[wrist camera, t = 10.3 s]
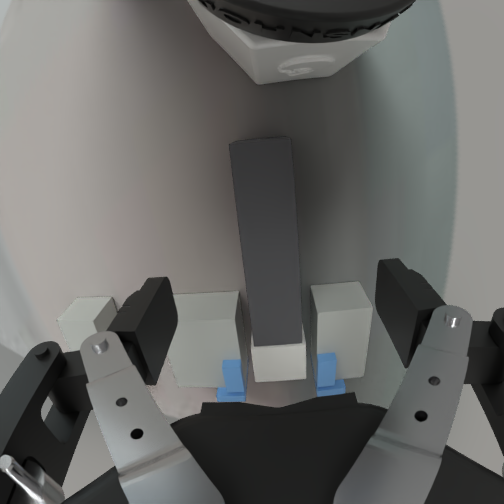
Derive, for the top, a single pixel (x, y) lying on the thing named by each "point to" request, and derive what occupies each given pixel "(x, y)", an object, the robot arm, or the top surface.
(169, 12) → the top surface
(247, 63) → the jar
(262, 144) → the tall dark pillar
